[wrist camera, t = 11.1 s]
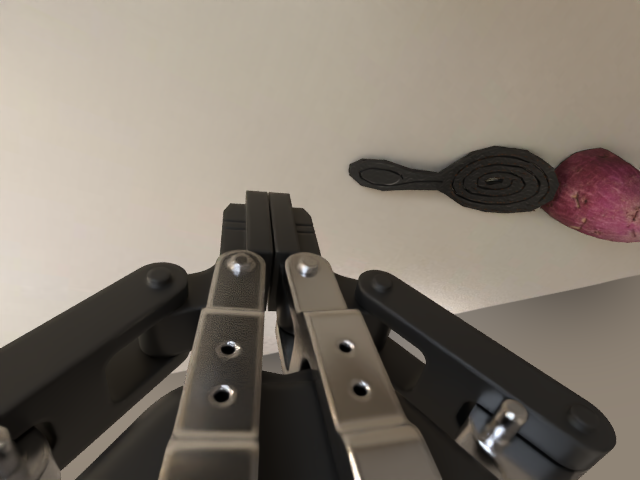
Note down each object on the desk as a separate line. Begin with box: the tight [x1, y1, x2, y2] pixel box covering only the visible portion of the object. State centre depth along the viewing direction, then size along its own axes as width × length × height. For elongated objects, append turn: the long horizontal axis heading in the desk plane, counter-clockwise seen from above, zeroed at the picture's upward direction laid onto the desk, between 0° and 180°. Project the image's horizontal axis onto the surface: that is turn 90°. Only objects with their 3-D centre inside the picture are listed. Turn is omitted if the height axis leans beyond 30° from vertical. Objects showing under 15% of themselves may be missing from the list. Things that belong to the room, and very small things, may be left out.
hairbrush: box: [349, 146, 561, 213], centre depth 45 cm, size 8×4×25 cm
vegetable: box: [541, 148, 640, 243], centre depth 45 cm, size 10×10×15 cm
